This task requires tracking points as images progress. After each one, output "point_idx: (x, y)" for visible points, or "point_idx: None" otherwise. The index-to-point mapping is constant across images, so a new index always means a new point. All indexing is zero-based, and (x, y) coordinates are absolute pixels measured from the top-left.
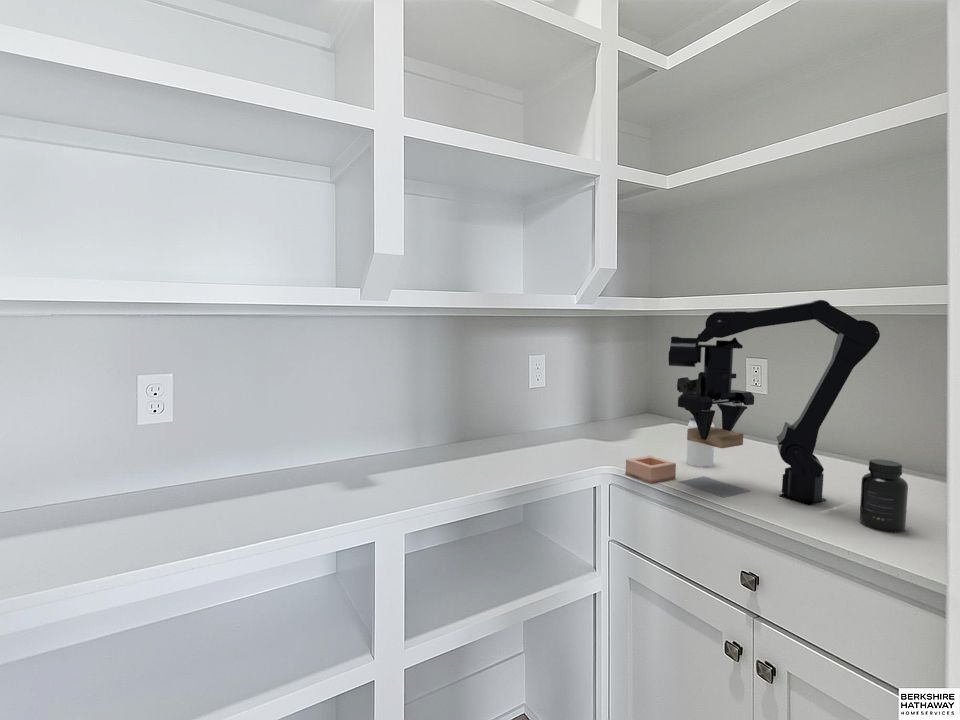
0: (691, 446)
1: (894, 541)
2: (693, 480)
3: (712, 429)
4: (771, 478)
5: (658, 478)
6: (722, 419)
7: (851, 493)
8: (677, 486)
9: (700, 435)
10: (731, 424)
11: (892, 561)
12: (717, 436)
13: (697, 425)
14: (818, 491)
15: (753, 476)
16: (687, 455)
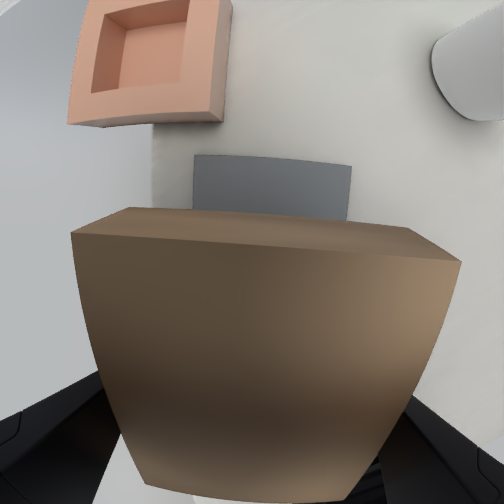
0: (471, 39)
1: None
2: (264, 175)
3: (313, 394)
4: (490, 292)
5: (125, 123)
6: (444, 475)
7: (466, 411)
8: (168, 177)
9: (96, 375)
10: (391, 497)
11: (201, 499)
12: (139, 466)
13: (31, 411)
14: None
15: (482, 256)
16: (449, 34)
